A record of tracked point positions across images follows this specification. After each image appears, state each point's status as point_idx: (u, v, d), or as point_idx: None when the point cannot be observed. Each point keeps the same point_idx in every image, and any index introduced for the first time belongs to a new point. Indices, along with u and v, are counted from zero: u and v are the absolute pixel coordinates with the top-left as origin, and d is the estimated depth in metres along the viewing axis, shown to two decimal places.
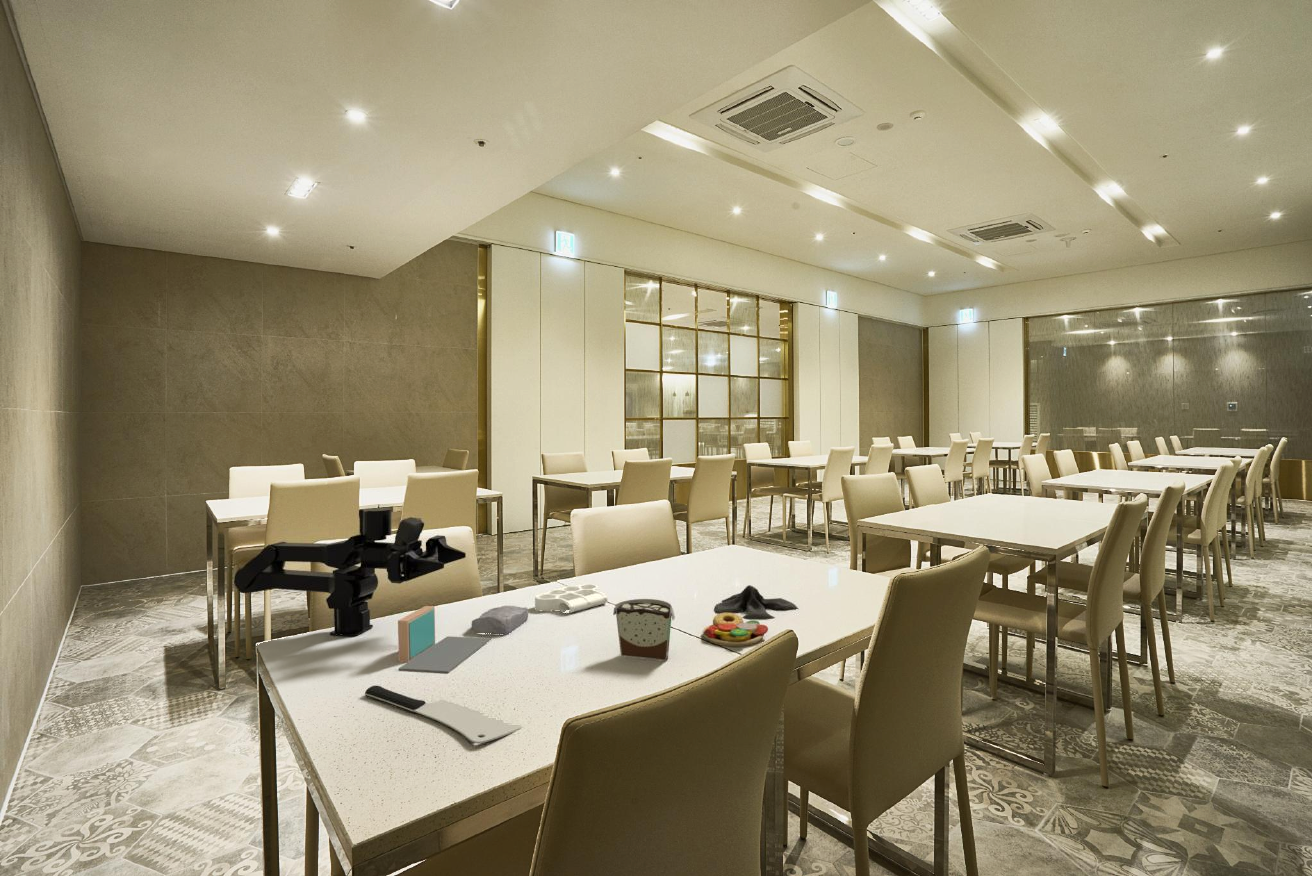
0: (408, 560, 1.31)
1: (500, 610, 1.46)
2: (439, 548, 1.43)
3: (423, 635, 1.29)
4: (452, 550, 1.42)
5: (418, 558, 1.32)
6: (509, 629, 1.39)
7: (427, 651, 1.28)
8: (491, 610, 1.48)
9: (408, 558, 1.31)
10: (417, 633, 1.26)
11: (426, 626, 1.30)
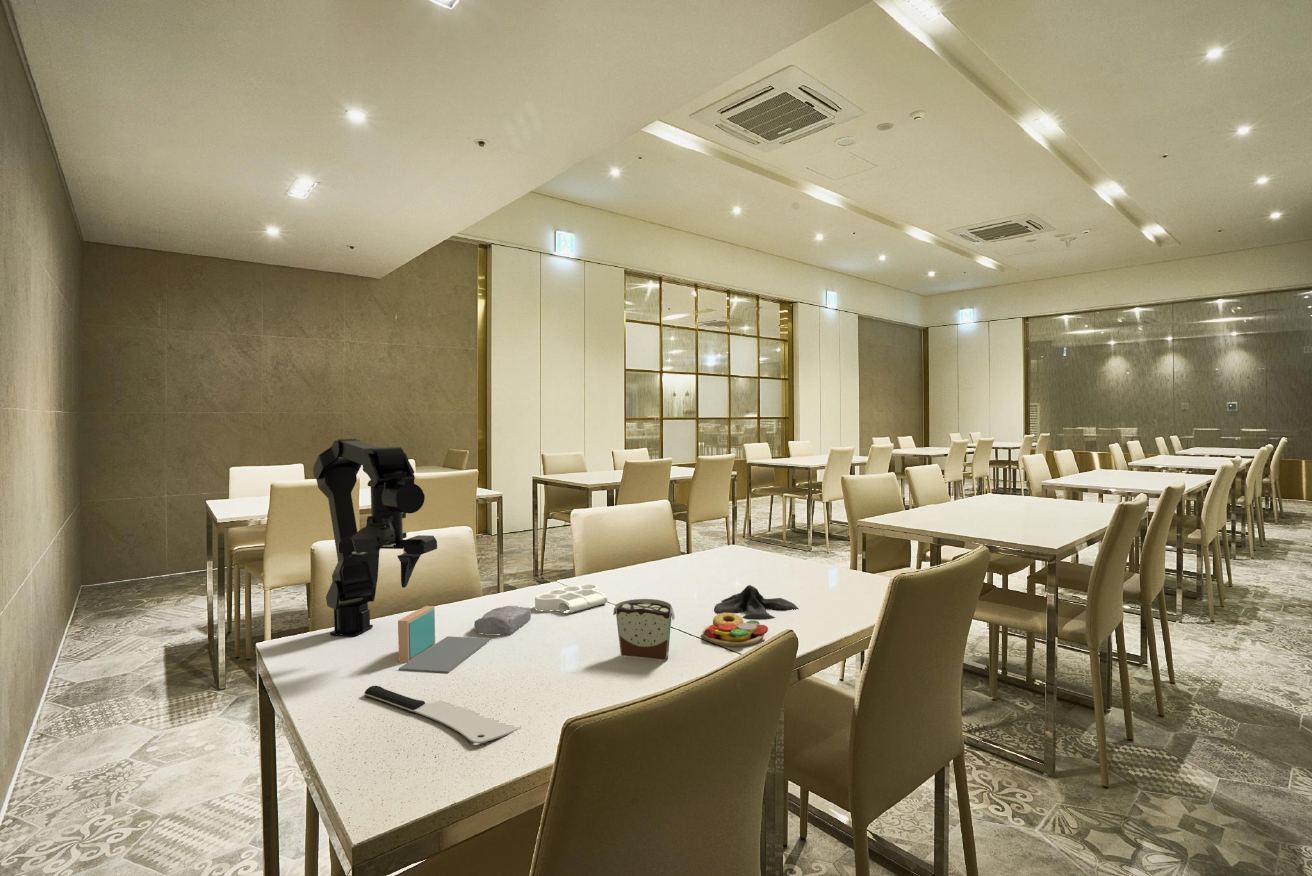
0: None
1: (503, 610, 1.46)
2: None
3: (423, 635, 1.29)
4: None
5: (363, 563, 1.29)
6: (512, 630, 1.39)
7: (427, 651, 1.28)
8: (493, 610, 1.48)
9: None
10: (417, 633, 1.26)
11: (426, 626, 1.30)
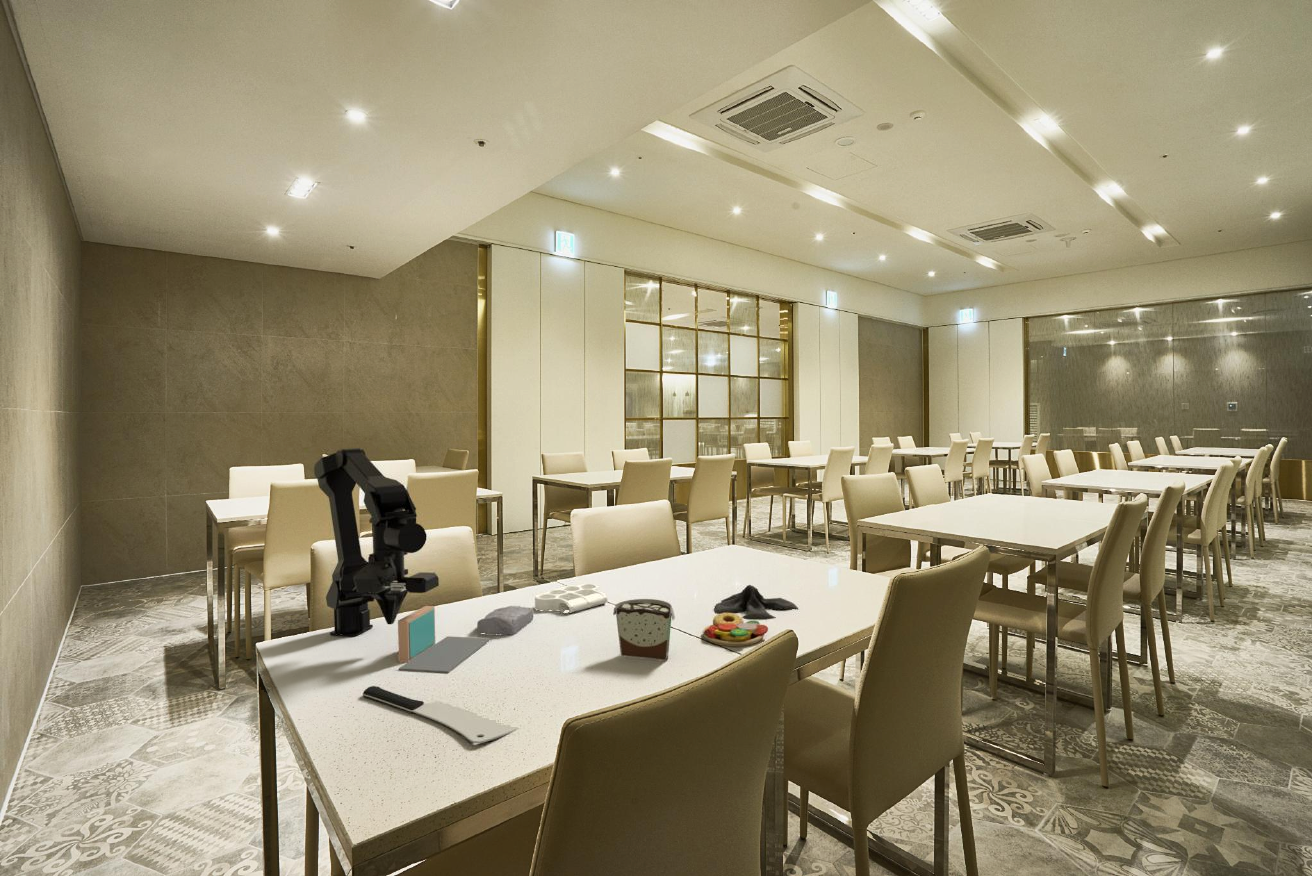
0: None
1: (506, 611, 1.45)
2: None
3: (423, 635, 1.29)
4: None
5: (379, 600, 1.28)
6: (515, 630, 1.39)
7: (427, 651, 1.28)
8: (496, 610, 1.48)
9: None
10: (417, 633, 1.26)
11: (426, 626, 1.30)
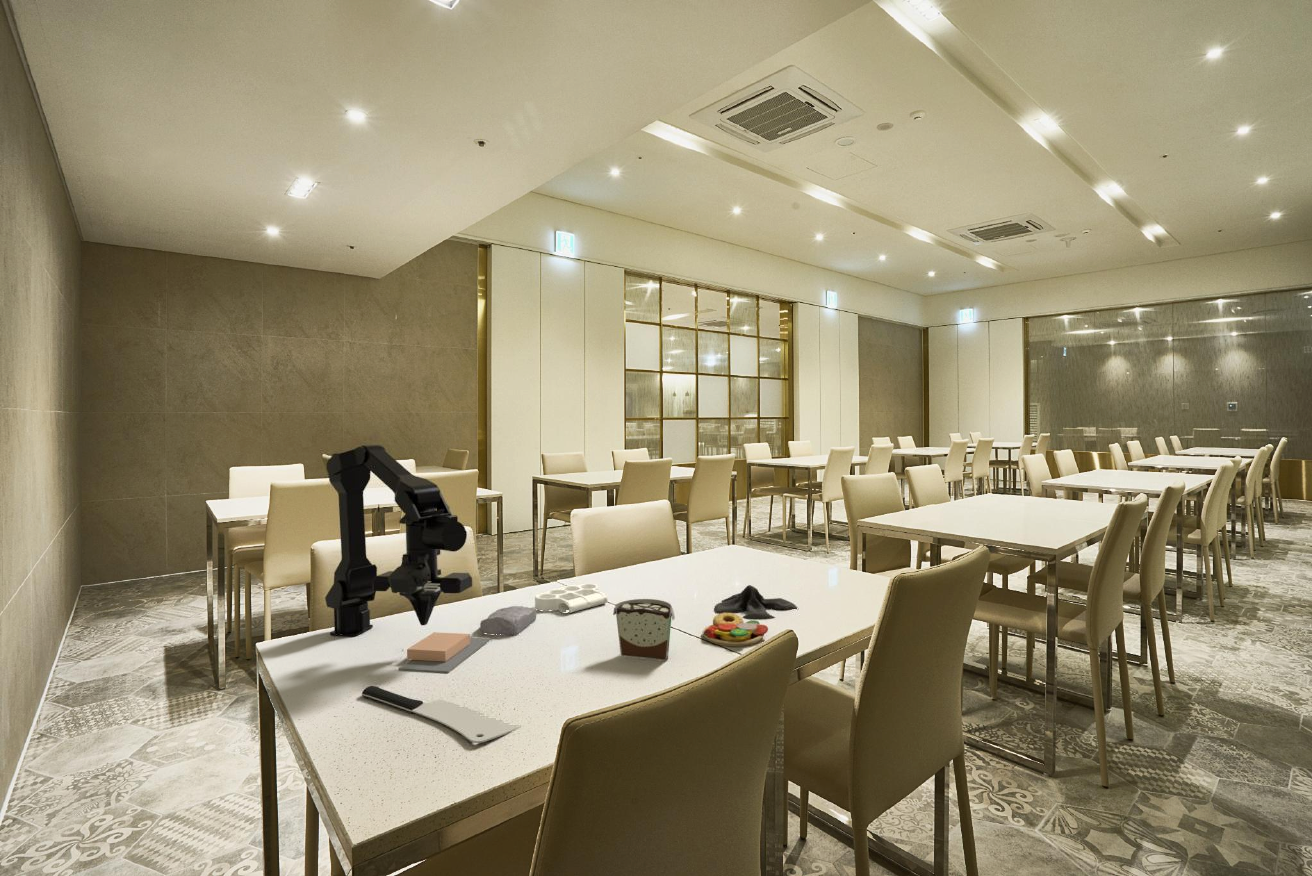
0: None
1: (509, 611, 1.45)
2: None
3: None
4: None
5: (413, 601, 1.27)
6: (518, 630, 1.38)
7: None
8: (499, 610, 1.48)
9: None
10: None
11: None
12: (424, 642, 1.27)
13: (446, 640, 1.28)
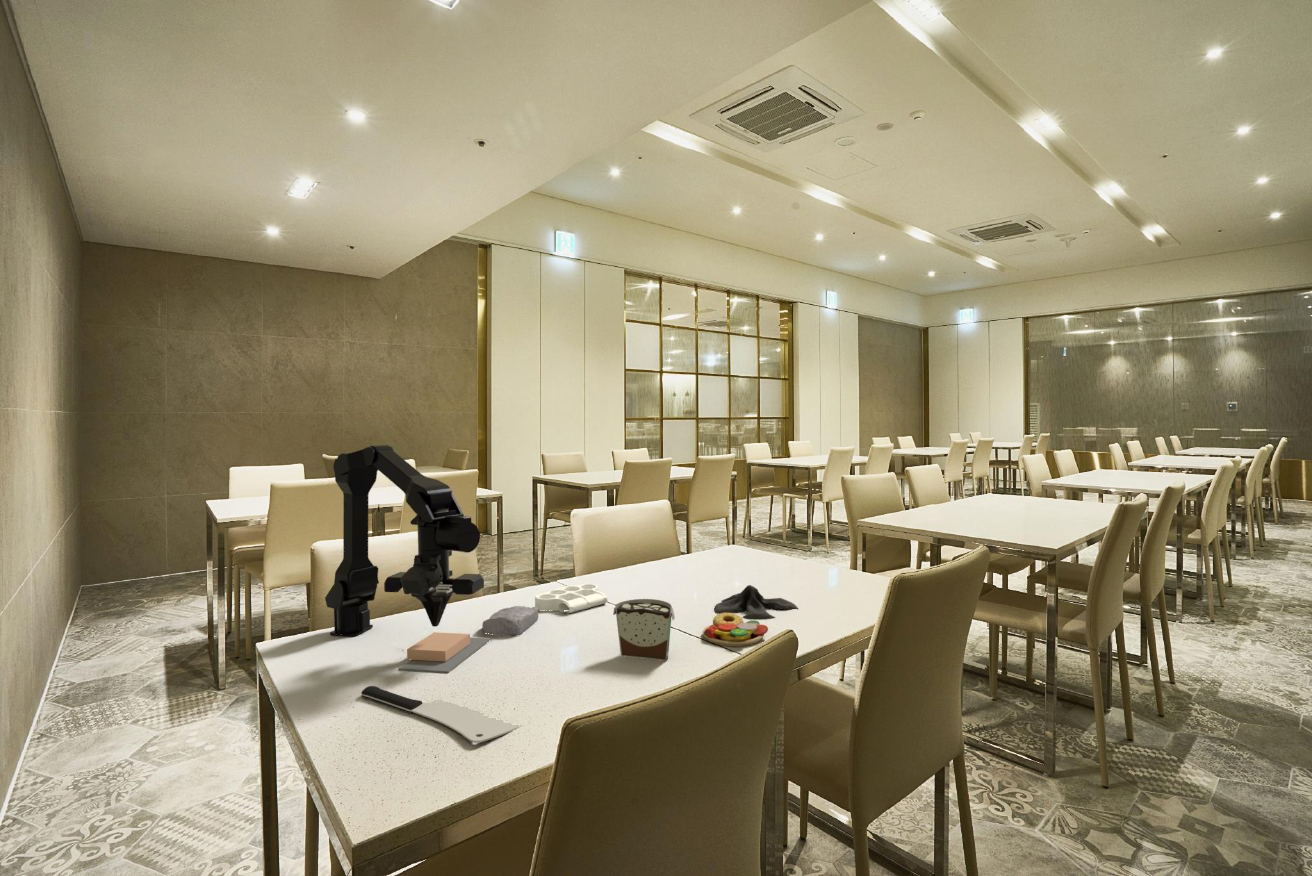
0: None
1: (511, 611, 1.45)
2: None
3: None
4: None
5: (424, 602, 1.26)
6: (520, 630, 1.38)
7: None
8: (501, 611, 1.48)
9: None
10: None
11: None
12: (424, 642, 1.27)
13: (446, 640, 1.28)
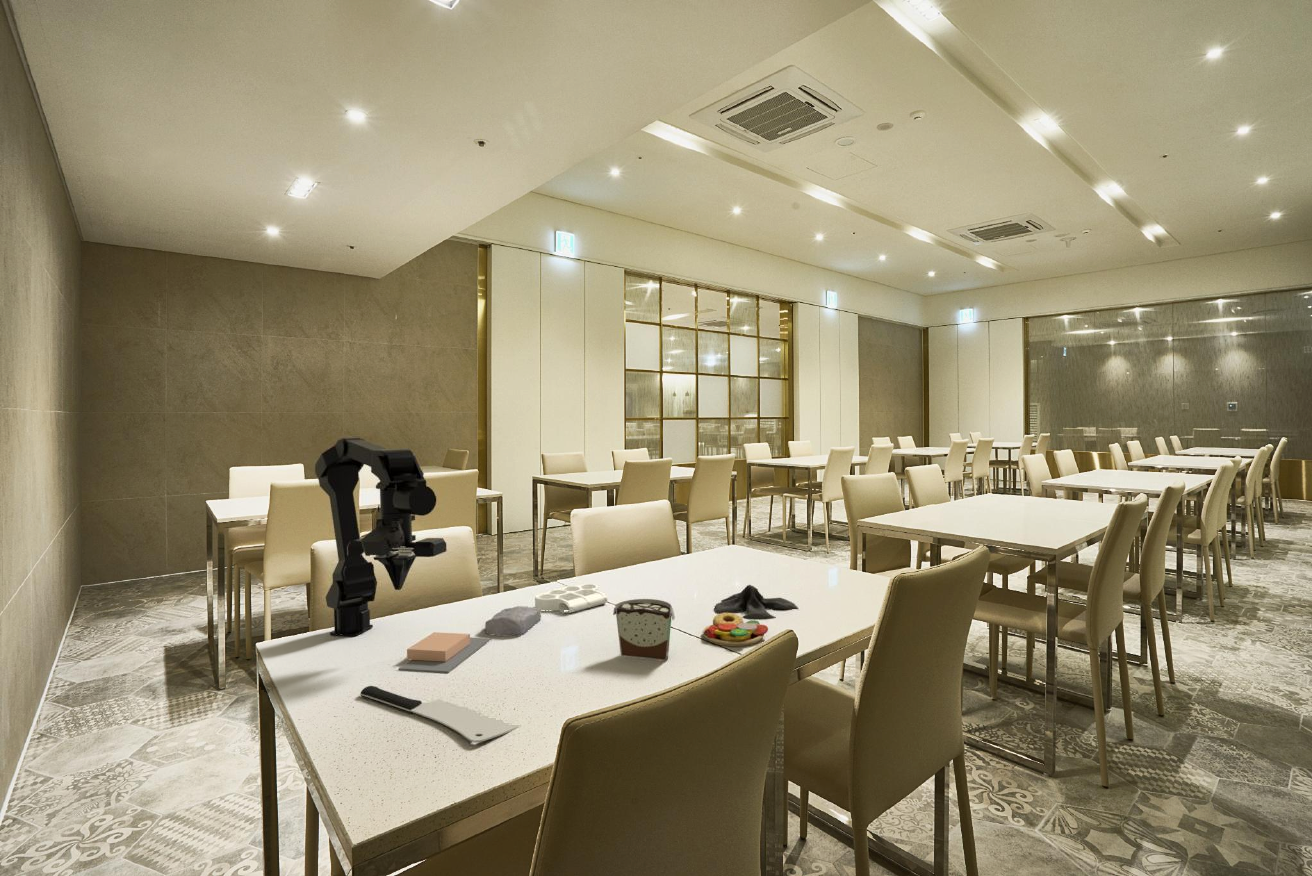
0: None
1: (513, 611, 1.45)
2: None
3: None
4: None
5: (387, 566, 1.28)
6: (523, 630, 1.38)
7: None
8: (503, 611, 1.48)
9: None
10: None
11: None
12: (424, 642, 1.27)
13: (446, 640, 1.28)
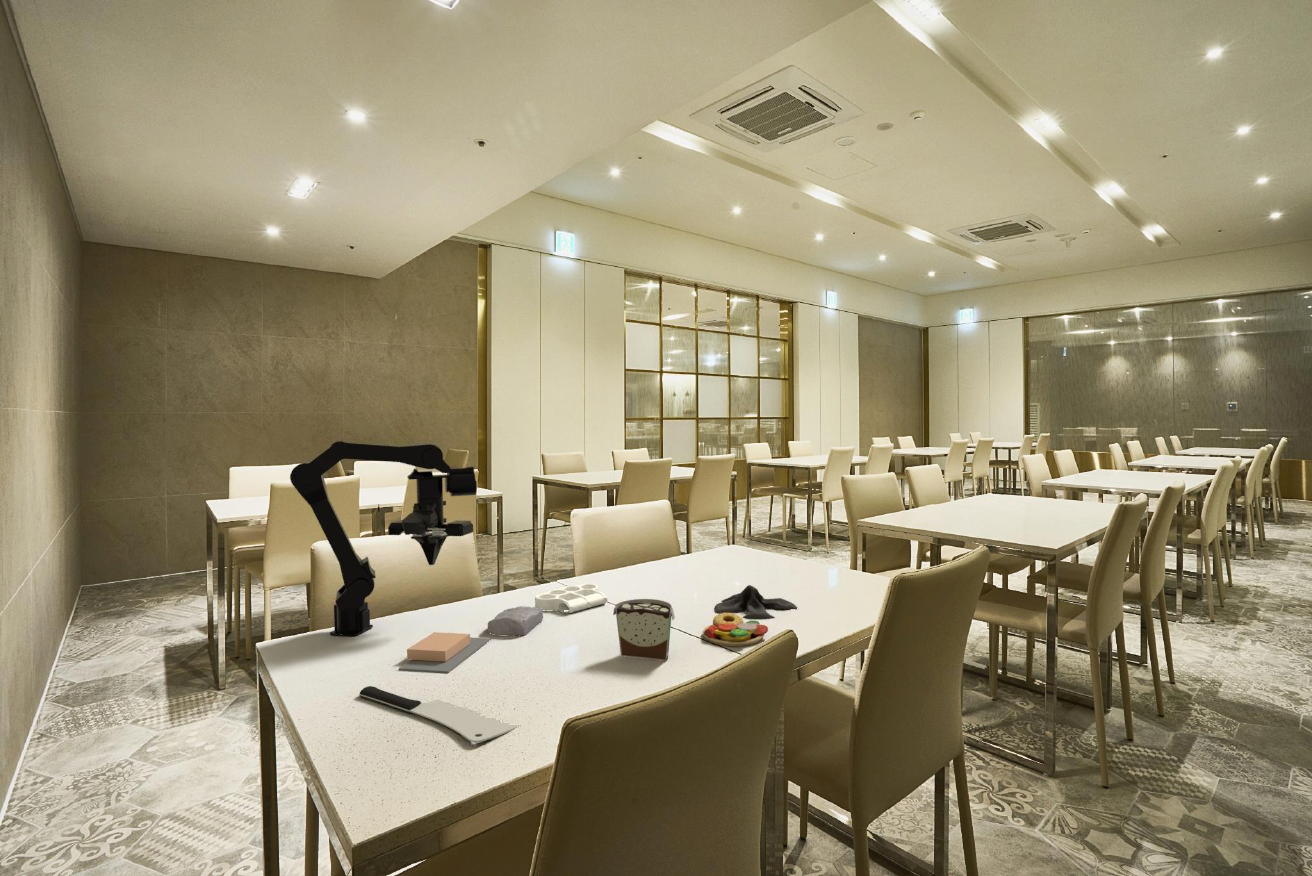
0: None
1: (516, 611, 1.45)
2: None
3: None
4: None
5: (422, 544, 1.48)
6: (526, 630, 1.38)
7: None
8: (506, 611, 1.48)
9: None
10: None
11: None
12: (424, 642, 1.27)
13: (446, 640, 1.28)
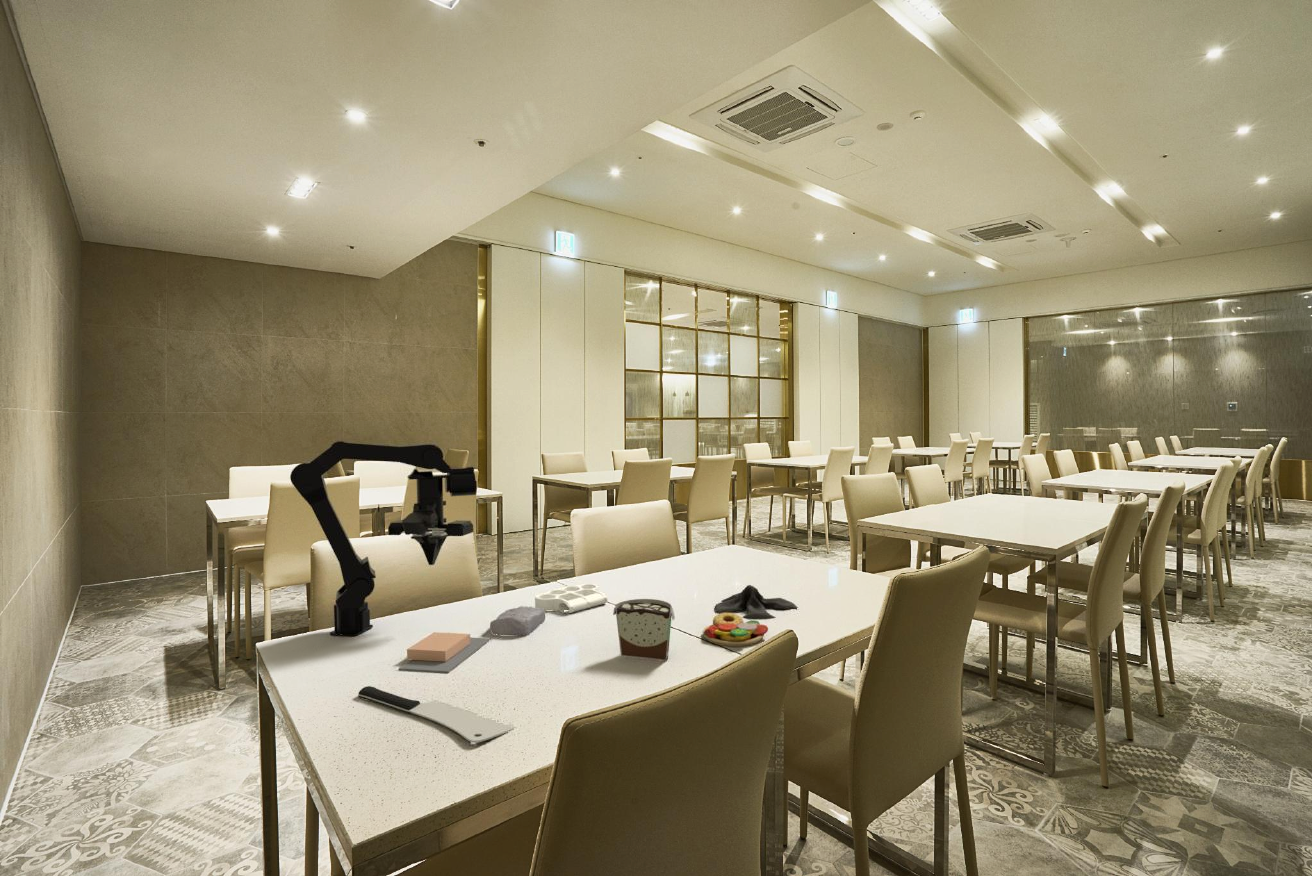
0: None
1: (518, 611, 1.45)
2: None
3: None
4: None
5: (422, 544, 1.48)
6: (528, 630, 1.38)
7: None
8: (508, 611, 1.47)
9: None
10: None
11: None
12: (424, 642, 1.27)
13: (446, 640, 1.28)
